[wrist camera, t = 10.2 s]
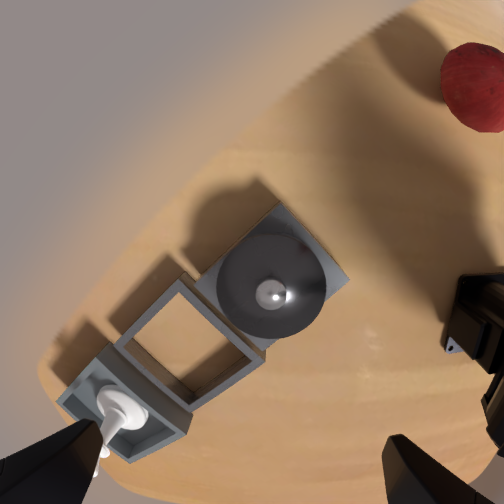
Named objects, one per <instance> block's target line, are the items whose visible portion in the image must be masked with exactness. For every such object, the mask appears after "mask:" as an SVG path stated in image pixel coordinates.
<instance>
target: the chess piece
mask: <svg viewBox="0 0 504 504" xmlns="http://www.w3.org/2000/svg"><path fill="white" fill-rule="evenodd" d="M97 405H98V408H99V410H100V411H101V413H102V414H103V415H104V416H105V418H104V421H103V423H102V425H101V428H100V431H101V433H102V436H103V445H102V449H101V452H100V455H99V458H98V462H97V465H96V468H95V472H94V475H93V477H96V476H97V474H98V466H99V459H100V457H101V458H106V457H108V456H109V455H110V451H109V449H108V448H107V447H106V445H107V444H108V442H109V441H110V440H111V439H112V437H113V436H114V435H115V434H116V433H117V431H118V430H119V429H120V428H124V429H129V430H136V429H139V428H141V427H142V426H143V425H144V424H145V423H146V422H147V420H148V416H149V415H148V411H147V410H146V409H145V408H143V407H142V406H141V405H140V404H139V403H137V402H136V401H135V400H134V399H133V398H132V397H130V396H129V395H128V394H127V393H126V392H125V391H124V390H122V389H121V388H120V387H119V386H118V385H105V386H103V387H102V388H101V389H100V391H99V393H98V395H97Z"/></svg>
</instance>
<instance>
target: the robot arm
mask: <svg viewBox="0 0 504 504" xmlns="http://www.w3.org/2000/svg"><path fill="white" fill-rule="evenodd" d="M465 279H466V281H465V283H464V284H463V282H464V280H465ZM450 346H451V347H450ZM449 347H450V348H449ZM444 350H445V352H446V353H448V354H451V353H457V352H462V351H464V352H465V353H466V354H467V355H468V356H469V357H470V358H471V359H472V360H476V361H477V362H478V364H479V365H480V366H481V367H482V368H483V369H484V370H485V371H486V372H487V373H488V374H494V375H495V376H494V378H493V380H492V382H491V384H490V386H489V388H488V390H487V392H486V394H484V395H483V397H482V399H481V403H482V406H483V410H484V413H485V416H486V420H487V423H488V426H487V427H486V431H487V433H488V435H489V436H490V438H491V440H492V441H493V442H494V444H495V445H496V446H497V447H498V448H499V450H498V452H497V454H498V455H499V456H501V457H504V273H485V274H464V275H462V276H460V278H459V281H458V286H457V292H456V297H455V302H454V306H453V310H452V315H451V320H450V324H449V328H448V332H447V337H446V341H445V345H444ZM102 445H103V436H102V433H101V431H100V429H99V426H98V424H97V422H96V421H94V420H91V419H88V418H83V419H81V420H79V421H77V422H75V423H74V424H72V425H70V426H68V427H66V428H64V429H62V430H60V431H58V432H56V433H55V434H52V435H51V436H49V437H47V438H45V439H43V440H41V441H39V442H37V443H35V444H33V445H31V446H29V447H27V448H24V449H22V450H20V451H18V452H16V453H14V454H12V455H10V456H8V457H6V458H3V459H1V460H0V504H82V501H83V499H84V497H85V494H86V492H87V489H88V487H89V485H90V483H91V480H92V478H93V475H94V472H95V468H96V465H97V462H98V458H99V455H100V452H101V449H102ZM382 464H383V471H384V478H385V486H386V494H387V500H388V504H495V503H493V502H491V501H490V500H489V499H487V498H486V497H484V496H483V495H481V494H480V493H478V492H476V490H474V489H473V488H472V487H470V486H469V485H468V484H466V483H465V482H464V481H462V480H461V479H460V478H458V477H457V476H456V475H454V474H453V473H452V472H450V471H449V470H448V469H446V468H445V467H444V466H442V465H441V464H440V463H439V462H437V461H436V460H435V459H433V458H432V457H431V456H430V455H428V454H427V453H426V452H424V451H423V450H422V449H421V448H419V447H418V446H417V445H416V444H414V443H413V442H412V441H411V440H409V439H408V438H407V437H406V436H404V435H403V434H397V435H391V436H389V437H388V439H387V442H386V444H385V447H384V449H383V452H382Z"/></svg>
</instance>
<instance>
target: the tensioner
mask: <svg viewBox="0 0 504 504" xmlns="http://www.w3.org/2000/svg"><path fill="white" fill-rule="evenodd" d="M349 280H350V279H349V278H348V277H347V275H346V274H345V273H344V271H343V270H342V269H341V268H340V266H339V265H338V264H337V263H336V262H335V261H334V260H333V258H332V257H331V256H330V255H329V254H328V253H327V252H326V250H325V249H324V248H323V247H322V246H321V245H320V244H319V243H318V241H317V240H316V239H315V238H314V237H313V236H312V235H311V234H310V233H309V231H308V230H307V229H306V228H305V227H304V226H303V225H302V224H301V223H300V222H299V221H298V219H297V218H296V217H295V216H294V215H293V214H292V213H291V212H290V211H289V210H288V209H287V208H286V206H285V205H284V204H283V203H282V202H281V201H279V202H278V203H277V204H276V205H275V206H274V207H273V208H272V209H271V210H270V211H269V212H267V213H266V214H265V215H264V216H263V217H262V218H261V219H260V220H259V221H258V222H257V223H256V224H255V225H254V226H252V227H251V228H250V229H249V230H248V231H247V232H246V233H245V234H244V235H243V236H242V237H241V238H240V239H239V240H238V241H236V242H235V243H234V244H233V245H232V246H231V247H230V248H229V249H228V250H227V251H226V252H225V253H224V254H223V255H222V256H221V257H220V258H218V259H217V260H216V261H215V262H214V263H213V264H212V265H211V266H210V267H209V268H208V269H207V270H206V271H205V272H204V273H203V274H202V275H201V276H200V277H199V278H198V280H197V281H196V282H195V281H194V280H193V279H192V278H191V277H190V276H189V275H188V274H187V273H186V272H184V273H183V274H182V275H181V276H180V277H179V278H178V279H177V280H176V281H175V282H174V283H173V284H172V285H171V286H170V287H169V288H168V289H167V290H166V291H165V292H164V293H163V294H162V295H161V296H160V297H159V298H158V299H157V300H156V301H155V302H154V303H153V304H152V305H151V306H150V307H149V308H148V309H147V310H146V311H145V312H144V313H143V314H142V315H141V316H140V317H139V318H138V319H137V320H136V322H135V323H134V324H133V325H132V326H131V327H130V328H129V329H128V330H127V331H126V332H125V333H124V334H123V335H122V336H121V337H120V338H119V339H118V340H117V341H116V343H115V344H114V345H113V346H114V347H115V348H116V349H117V350H118V351H119V352H120V353H121V354H122V355H123V356H124V357H125V358H126V359H127V360H128V361H130V362H131V363H132V364H133V365H134V366H135V367H136V368H137V369H138V370H139V371H140V372H141V373H143V374H144V375H145V376H146V377H147V378H148V379H149V380H150V381H152V382H153V383H154V384H155V385H156V386H157V387H159V388H160V389H161V390H162V391H163V392H164V393H166V394H167V395H168V396H169V397H170V398H172V399H173V400H174V401H175V402H177V403H178V404H179V405H180V406H182V407H183V408H184V409H185V410H187V411H188V412H189V413H191V412H193V411H194V410H196V409H197V408H199V407H201V406H202V405H204V404H205V403H207V402H208V401H210V400H211V399H213V398H214V397H216V396H217V395H219V394H220V393H222V392H223V391H225V390H226V389H228V388H229V387H231V386H232V385H234V384H235V383H236V382H238V381H239V380H241V379H242V378H244V377H245V376H246V375H248V374H249V373H251V372H252V371H253V370H255V369H256V368H258V367H259V366H260V365H262V364H263V363H264V362H265V359H266V348H268V347H269V346H270V345H272V344H273V343H274V342H275V341H277V340H278V339H279V338H285V337H289V336H291V335H294V334H296V333H298V332H300V331H302V330H303V329H305V328H306V327H307V326H308V325H310V324H311V323H312V322H313V321H314V319H315V318H316V317H317V316H318V314H319V312H320V311H321V309H322V307H323V304H324V302H325V301H326V300H327V299H328V298H330V297H331V296H332V295H333V294H334V293H335V292H337V291H338V290H339V289H340V288H341V287H342V286H344V285H345V284H346V283H347V282H348V281H349ZM178 292H180V293H181V294H182V295H183V296H184V297H185V298H186V299H187V300H188V301H189V302H190V303H191V304H192V305H193V306H194V307H195V308H196V309H197V310H198V311H199V312H200V313H201V314H202V315H203V316H204V317H205V318H206V319H207V320H208V321H209V322H210V323H211V324H212V325H213V326H215V327H216V328H217V329H218V330H219V331H220V332H221V333H222V334H223V335H224V336H225V337H226V338H227V339H228V340H230V341H231V342H232V343H233V344H234V345H235V346H236V347H237V348H238V349H239V350H240V351H242V352H243V353H244V354H245V356H244V357H243V358H241V359H240V360H239V361H237V362H236V363H235V364H233V365H232V366H231V367H229V368H228V369H227V370H225V371H224V372H223V373H221V374H220V375H218V376H217V377H216V378H214V379H213V380H211V381H210V382H209V383H207V384H206V385H204V386H203V387H202V388H200V389H199V390H197V391H196V392H194V393H193V392H192V391H191V390H189V389H188V388H187V387H186V386H185V385H183V384H182V383H181V382H180V381H179V380H178V379H176V378H175V377H174V376H173V375H172V374H171V373H169V372H168V371H167V370H166V369H165V368H164V367H163V366H162V365H160V364H159V363H158V362H157V361H156V360H155V359H154V358H153V357H152V356H151V355H150V354H148V353H147V352H146V351H145V350H144V349H143V348H142V347H141V346H140V345H139V344H138V343H137V342H136V341H135V340H134V339H133V338H132V337H133V336H134V335H135V334H136V333H137V332H138V331H139V330H140V329H141V328H142V327H144V326H145V325H146V324H147V323H148V322H149V321H150V320H151V319H152V318H153V317H154V316H155V315H156V314H157V313H158V312H159V311H160V310H161V309H162V308H163V307H164V306H165V305H166V304H167V303H168V302H169V301H170V300H171V299H172V298H173V297H174V296H175V295H176V294H177V293H178Z"/></svg>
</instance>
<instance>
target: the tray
mask: <svg viewBox="0 0 504 504" xmlns="http://www.w3.org/2000/svg"><path fill="white" fill-rule="evenodd" d="M105 385H118V386H119V387H120V388H121V389H122V390H124V391H125V392H126V393H127V394H128V395H129V396H130V397H132V398H133V399H134V400H135V401H136V402H137V403H139V404H140V405H141V406H142V407H143V408H145V409H146V410H147V411H148V415H149V416H148V420H147V422H146V423H145V424H144V425H143V426H142V427H141V428H139V429H136V430H129V429H124V428H120V429H119V430H118V431H117V433H116V434H115V435H114V436H113V437H112V439H111V440H110V441H109V442H108V444H107V445H106V446H107V447H108V448H109V449H110V450H112V451H113V452H114V453H116V454H117V455H118V456H120V457H121V458H122V459H124V460H125V461H127V462H128V463H129V464H130V463H133V462H135V461H137V460H139V459H141V458H143V457H145V456H147V455H149V454H151V453H153V452H155V451H157V450H159V449H161V448H163V447H165V446H167V445H169V444H170V443H172V442H174V441H176V440H178V439H180V438H182V437H183V436H185V435H187V432H188V429H189V426H190V423H191V420H192V417H193V414H191V413H189V412H188V411H187V410H185V409H184V408H183V407H182V406H180V405H179V404H178V403H177V402H175V401H174V400H173V399H172V398H170V397H169V396H168V395H167V394H166V393H164V392H163V391H162V390H161V389H160V388H159V387H157V386H156V385H155V384H154V383H153V382H152V381H150V380H149V379H148V378H147V377H146V376H145V375H144V374H143V373H141V372H140V371H139V370H138V369H137V368H136V367H135V366H134V365H133V364H132V363H131V362H130V361H128V360H127V359H126V358H125V357H124V356H123V355H122V354H121V353H120V352H119V351H118V350H117V349H116V348H115V347H114V346H113V344H112V343H111V342H109V343H108V344H107V345H106V346H105V347H104V348H103V349H102V351H101V352H100V353H99V354H98V355H97V356H96V357H95V358H94V359H93V360H92V361H91V362H90V364H89V365H88V366H87V367H86V368H85V369H84V370H83V371H82V372H81V373H80V375H79V376H78V377H77V378H76V379H75V380H74V381H73V382H72V383H71V385H70V386H69V387H68V388H67V389H66V390H65V391H64V393H63V394H62V395H61V396H60V397H59V398H58V399H57V400H56V403H57V404H58V405H60V406H61V407H62V408H63V409H64V410H65V411H66V412H67V413H68V414H69V415H70V416H71V417H72V418H73V419H74V420H76V421H79V420H81V419H83V418H88V419H91V420H94V421H96V422H97V424H98V426H99V429H100V428H101V425H102V423H103V421H104V418H105V416H104V415H103V414H102V413H101V411H100V410H99V408H98V405H97V395H98V393H99V391H100V389H101V388H102V387H103V386H105Z"/></svg>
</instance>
